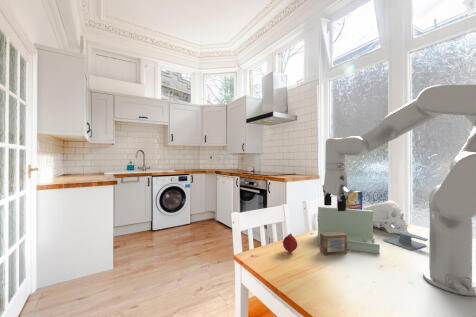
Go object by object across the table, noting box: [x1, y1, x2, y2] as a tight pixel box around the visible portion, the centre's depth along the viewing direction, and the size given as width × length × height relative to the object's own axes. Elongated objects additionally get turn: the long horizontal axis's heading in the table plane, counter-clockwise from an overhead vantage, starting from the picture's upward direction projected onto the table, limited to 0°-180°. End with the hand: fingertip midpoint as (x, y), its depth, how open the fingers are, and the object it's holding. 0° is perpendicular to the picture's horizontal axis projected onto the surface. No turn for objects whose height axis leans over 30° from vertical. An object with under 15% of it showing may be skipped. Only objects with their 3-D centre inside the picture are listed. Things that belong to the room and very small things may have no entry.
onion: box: [282, 233, 298, 253], centre depth 88 cm, size 6×6×8 cm
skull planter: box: [362, 200, 410, 235], centre depth 118 cm, size 14×20×19 cm
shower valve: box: [382, 232, 429, 252], centre depth 97 cm, size 12×6×15 cm
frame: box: [319, 232, 348, 256], centre depth 88 cm, size 4×10×8 cm, turn 99°
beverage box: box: [336, 189, 363, 210], centre depth 113 cm, size 7×11×22 cm, turn 115°
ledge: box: [317, 205, 381, 255], centre depth 97 cm, size 13×24×15 cm, turn 69°
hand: (334, 208), depth 88 cm, fingers open, 9 cm apart
